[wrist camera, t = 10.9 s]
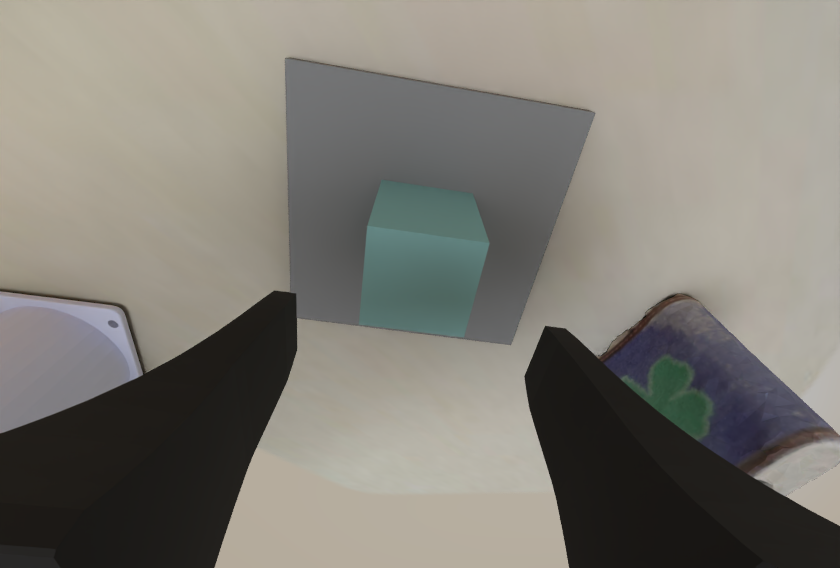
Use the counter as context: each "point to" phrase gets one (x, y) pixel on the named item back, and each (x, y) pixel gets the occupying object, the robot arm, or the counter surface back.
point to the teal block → (422, 259)
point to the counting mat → (420, 180)
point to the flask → (723, 395)
